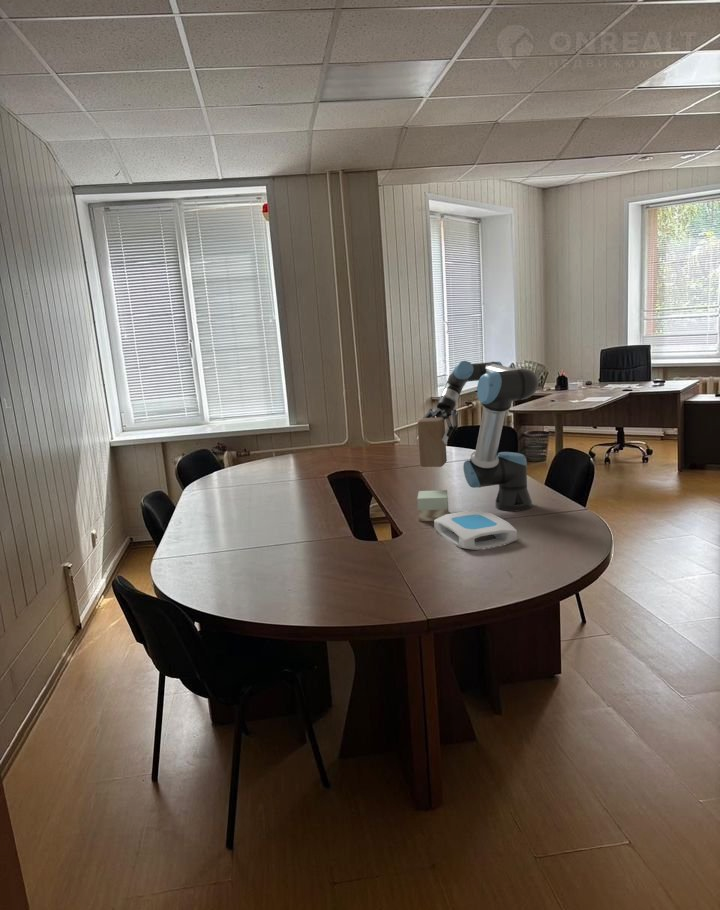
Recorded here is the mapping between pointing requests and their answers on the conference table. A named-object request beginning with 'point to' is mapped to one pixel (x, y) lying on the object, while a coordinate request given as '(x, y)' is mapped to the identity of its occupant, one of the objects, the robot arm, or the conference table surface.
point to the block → (431, 442)
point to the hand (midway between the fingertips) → (430, 441)
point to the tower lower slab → (431, 514)
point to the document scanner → (475, 529)
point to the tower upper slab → (432, 500)
